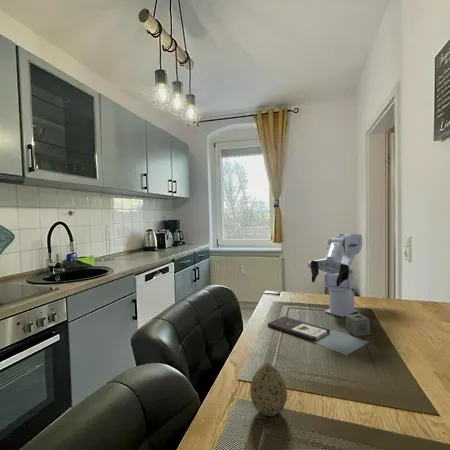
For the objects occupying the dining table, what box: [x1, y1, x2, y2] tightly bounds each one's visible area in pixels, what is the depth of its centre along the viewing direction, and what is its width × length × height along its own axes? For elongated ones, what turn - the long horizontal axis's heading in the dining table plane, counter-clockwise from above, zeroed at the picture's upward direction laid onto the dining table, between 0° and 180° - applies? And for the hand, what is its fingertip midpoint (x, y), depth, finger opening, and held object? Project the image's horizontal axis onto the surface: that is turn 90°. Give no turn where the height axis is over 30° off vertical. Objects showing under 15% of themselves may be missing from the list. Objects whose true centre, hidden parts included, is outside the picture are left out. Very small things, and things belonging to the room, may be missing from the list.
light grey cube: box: [345, 313, 371, 337], centre depth 93 cm, size 5×5×5 cm
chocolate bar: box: [267, 316, 330, 342], centre depth 97 cm, size 9×1×18 cm
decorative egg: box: [249, 362, 288, 417], centre depth 58 cm, size 7×7×10 cm
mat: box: [309, 329, 370, 356], centre depth 87 cm, size 12×12×1 cm
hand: (324, 281), depth 94 cm, fingers open, 7 cm apart
